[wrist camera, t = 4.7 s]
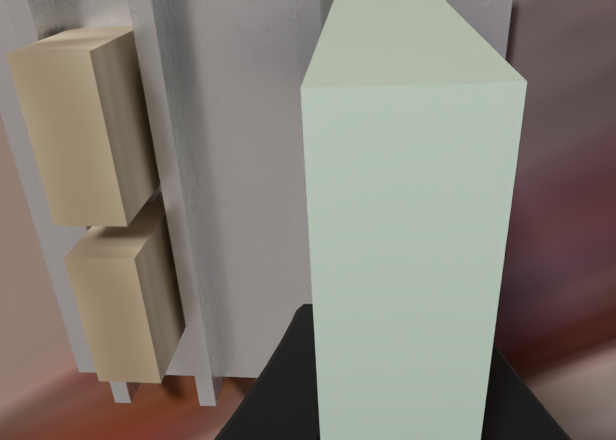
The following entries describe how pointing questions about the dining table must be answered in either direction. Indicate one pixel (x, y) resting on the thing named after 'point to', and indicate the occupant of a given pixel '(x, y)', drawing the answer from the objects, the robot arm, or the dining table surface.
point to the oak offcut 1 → (88, 124)
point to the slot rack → (208, 162)
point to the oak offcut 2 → (129, 296)
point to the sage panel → (406, 216)
